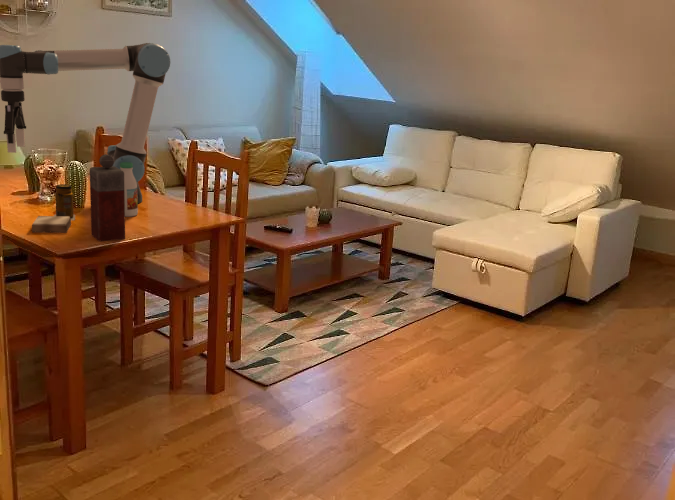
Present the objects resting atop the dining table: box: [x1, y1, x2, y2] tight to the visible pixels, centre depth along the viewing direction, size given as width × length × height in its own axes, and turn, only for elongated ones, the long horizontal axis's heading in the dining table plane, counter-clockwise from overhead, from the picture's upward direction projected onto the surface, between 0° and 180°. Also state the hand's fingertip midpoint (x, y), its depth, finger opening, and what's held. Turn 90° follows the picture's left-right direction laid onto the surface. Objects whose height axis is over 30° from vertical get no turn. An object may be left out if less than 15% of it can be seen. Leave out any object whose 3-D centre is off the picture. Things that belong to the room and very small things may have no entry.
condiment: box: [53, 183, 76, 221], centre depth 254 cm, size 7×8×12 cm
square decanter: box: [89, 154, 126, 242], centre depth 233 cm, size 9×11×28 cm
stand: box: [31, 215, 72, 234], centre depth 241 cm, size 11×11×3 cm
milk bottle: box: [120, 162, 139, 218], centre depth 263 cm, size 8×8×20 cm
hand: (16, 149), depth 253 cm, fingers open, 13 cm apart
